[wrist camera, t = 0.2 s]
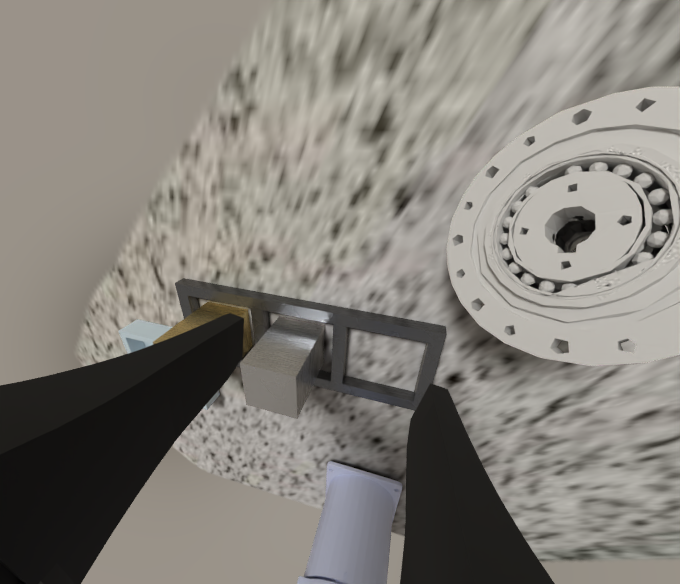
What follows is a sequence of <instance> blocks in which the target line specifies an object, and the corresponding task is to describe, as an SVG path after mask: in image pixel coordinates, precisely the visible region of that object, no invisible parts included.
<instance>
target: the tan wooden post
mask: <svg viewBox="0 0 680 584" xmlns="http://www.w3.org/2000/svg"><path fill="white" fill-rule="evenodd" d="M229 313H231V314H234V315H237V316H239V317H242V318H244V332H243V357H244V355H245V354H246V353H247V352H248V351H249V349H250V348H251V347H252V346H253V345H252V338H251V330H250V322H249V314H248V310H247V309H242V308H237V307H232V306H227V305H222V304H217V303H212V302H207V303H205V304H204V305H203V306H201V307H200V308H199V309H197V310H196V311H194V312H193V313H192V314H190V315H189V316H188V317H186V318H185V319H183V320H182V321H181V322H179V323H178V324H177V325H175V326H174V327H173V328H171V329H170V330H168V331H167V332H166V333H164V334H163V335H162V336H160V337H159V338H157V339H156V340H155V341H153V344H156V343H159V342H161V341H164V340H167V339H169V338H172V337H174V336H177V335H179V334H182V333H184V332H186V331H189V330H191V329H193V328H196V327H198V326H200V325H203V324H205V323H207V322H210V321H212V320H214V319H217V318H219V317H221V316H224V315H226V314H229ZM243 357H242V358H243Z"/></svg>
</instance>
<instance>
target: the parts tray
mask: <svg viewBox="0 0 680 584" xmlns="http://www.w3.org/2000/svg"><path fill="white" fill-rule="evenodd" d="M171 328H173V327H169V326H165V325H160V324H156V323H151V322H147V321H143V320H138V319H137V320H135V321H134V322H132V323H131V324H129V325H127V326H126V327H124V328H122V329H121V330H119V334H120V336H121V339H122V341H123V344H124V346H125V349H126V351H127V353H128V354H129V353H132V352H134V351H137V350H140V349H143V348H146V347H148V346H151V345H153V341H155V340H156V339H157V338H159V337H160V336H162V335H163V334H164V333H166V332H167V331H168V330H170V329H171ZM219 395H220V393H219V390H218V391H217V393H216V394H215V395H214V396H213V397H212V398H211V400H210V401H209V402H208V403H207V404H206V405H205V406H204V408H203V409H206V410H208V408H209V407H210V406H211V405H212V403H213V402H214V401H215V400H216V399H217V397H218V396H219Z"/></svg>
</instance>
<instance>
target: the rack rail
mask: <svg viewBox="0 0 680 584" xmlns="http://www.w3.org/2000/svg"><path fill="white" fill-rule="evenodd" d="M175 286H176V290H177V293H178V297H179V301H180V305H181V309H182V312H183V316H184V319H185V318H186V317H188V316H189V315H190V314H192V313H193V312H194V311H196V310H197V309H199V308H200V307H199V303H198V299H197V298H202V299H207V300H212V301H218V302H223V303H228V304H233V305H238V306H243V307H248V308H251V315H252V323H253V331H254V339H255V345H256V344H257V342H258V341H259V340H260V339H261V338H262V336H263V335H264V334H265V333H266V332H267V331H268V329H269V328H270V323H269V312H273V313H279V314H284V315H289V316H294V317H299V318H304V319H309V320H314V321H319V322H324V323H329V324H334V326H333V348H332V369H331V372H326V371H322V370H320V371H319V374H318V376H317V378H316V380H315V382H314V384H313V385H314V386H318V387H322V388H326V389H330V390H334V391H338V392H342V393H346V394H350V395H354V396H358V397H362V398H366V399H370V400H374V401H378V402H382V403H387V404H391V405H395V406H399V407H403V408H407V409H411V410H415V411H416V409H417V407H418V405H419V403H420V401H421V399H422V398H423V396H424V394H425V392H426V390H427V388H428V387H429V385H430V383H431V384H432V383H433V379H434V376H435V372H436V369H437V365H438V362H439V358H440V355H441V351H442V348H443V344H444V341H445V337H446V327H445V326H441V325H436V324H430V323H425V322H419V321H414V320H408V319H403V318H397V317H392V316H386V315H381V314H375V313H370V312H365V311H359V310H354V309H348V308H343V307H337V306H332V305H326V304H321V303H315V302H310V301H304V300H299V299H293V298H288V297H282V296H277V295H272V294H266V293H261V292H255V291H250V290H244V289H239V288H233V287H228V286H222V285H217V284H211V283H206V282H200V281H195V280H189V279H184V278H183V279H182V280H180V281H178V282H176V283H175ZM349 327H350V328H355V329H360V330H365V331H370V332H375V333H380V334H385V335H390V336H395V337H400V338H405V339H411V340H416V341H421V342H426V346H425V350H424V354H423V358H422V362H421V366H420V370H419V374H418V378H417V382H416V386H415V390H414V392H412V391H408V390H403V389H399V388H395V387H390V386H386V385H382V384H378V383H373V382H369V381H365V380H361V379H356V378H352V377H348V376H345V370H346V357H347V344H348V331H349ZM247 354H248V353H246V354H245V355H244V357H243V358H242V359H241V360H240V362H241V361H242V360H243V359H244V358H245V357H246V355H247ZM240 362H239V363H238V365H237V367H240Z"/></svg>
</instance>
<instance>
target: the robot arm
mask: <svg viewBox="0 0 680 584" xmlns="http://www.w3.org/2000/svg"><path fill="white" fill-rule="evenodd" d="M243 332H244V318H242V317H239V316H237V315H234V314H231V313H229V314H226V315H224V316H221V317H219V318H217V319H214V320H212V321H210V322H207V323H205V324H203V325H200V326H198V327H196V328H193V329H191V330H189V331H186V332H184V333H182V334H179V335H177V336H174V337H172V338H169V339H167V340H164V341H161V342H159V343H156V344H153V345H151V346H148V347H146V348H143V349H140V350H137V351H134V352H132V353H129V354H126V355H123V356H119V357H116V358H113V359H110V360H106V361H103V362H100V363H96V364H93V365H89V366H85V367H81V368H77V369H73V370H69V371H65V372H61V373H57V374H53V375H49V376H45V377H41V378H36V379H31V380H26V381H22V382H17V383H12V384H6V385H1V386H0V584H81V582H82V581H83V579H84V578H85V576H86V574H87V573H88V571H89V569H90V568H91V566H92V565H93V563H94V561H95V560H96V558H97V556H98V555H99V553H100V552H101V550H102V549H103V547H104V545H105V544H106V542H107V540H108V539H109V537H110V536H111V534H112V532H113V531H114V529H115V528H116V526H117V525H118V523H119V522H120V520H121V519H122V517H123V515H124V514H125V513H126V511H127V509H128V508H129V507H130V505H131V504H132V502H133V501H134V499H135V497H136V496H137V495H138V493H139V492H140V490H141V489H142V487H143V486H144V484H145V483H146V482H147V480H148V479H149V477H150V476H151V474H152V473H153V471H154V470H155V468H156V467H157V466H158V464H159V463H160V462H161V460H162V459H163V457H164V456H165V455H166V453H167V452H168V450H169V449H170V448H171V446H172V445H173V444H174V442H175V441H176V440H177V438H178V437H179V436H180V435H181V433H182V432H183V431H184V430H185V428H186V427H187V426H188V425H189V424H190V423H191V421H192V420H193V419H194V418H195V417H196V416H197V415H198V413H199V412H200V411H201V410H202V409H203V408H204V406H205V405H206V404H207V403H208V402H209V401H210V400H211V398H212V397H213V396H214V395H215V394H216V393H217V391H218V390H219V389H220V388H221V387H222V386H223V384H224V383H225V382H226V381H227V380H228V378H229V377H230V375H231V374H232V372H233V371H234V369H235V368H236V366H237V365H238V363H239V362H240V360H241V359H242V357H243ZM401 491H402V483H401V482H399V481H396V480H392V479H389V478H386V477H382V476H379V475H376V474H372V473H369V472H366V471H362V470H359V469H356V468H352V467H349V466H346V465H342V464H339V463H336V462H332V461H329V462H328V464H327V477H326V499H325V503H324V506H323V510H322V513H321V517H320V520H319V524H318V528H317V531H316V535H315V538H314V542H313V545H312V549H311V553H310V556H309V560H308V563H307V568H306V571H305V574H304V577H301V576H299V578H298V581H297V584H387V573H388V562H389V551H390V540H391V528H392V523H393V519H394V516H395V512H396V509H397V505H398V502H399V498H400V495H401ZM400 584H554V582H553V581H552V579H551V578H550V576H549V575H548V573H547V572H546V570H545V569H544V567H543V566H542V565H541V563H540V562H539V560H538V559H537V557H536V556H535V554H534V553H533V551H532V550H531V548H530V546H529V545H528V543H527V542H526V540H525V539H524V537H523V535H522V534H521V532H520V531H519V529H518V527H517V526H516V524H515V522H514V521H513V519H512V517H511V516H510V514H509V513H508V511H507V509H506V508H505V506H504V504H503V502H502V501H501V499H500V497H499V495H498V493H497V492H496V490H495V488H494V486H493V484H492V482H491V481H490V479H489V477H488V475H487V473H486V471H485V469H484V467H483V465H482V463H481V461H480V459H479V457H478V455H477V453H476V451H475V449H474V447H473V445H472V443H471V441H470V439H469V436H468V434H467V432H466V430H465V428H464V425H463V423H462V421H461V419H460V416H459V414H458V412H457V410H456V407H455V405H454V403H453V400H452V398H451V396H450V393H449V391H448V389H445V388H442V387H439V386H436V385H433V384H431V383H430V385H429V387H428V388H427V390H426V392H425V394H424V396H423V398H422V399H421V401H420V403H419V405H418V407H417V409H416V411H415V412H414V414H413V416H412V418H411V421H410V428H409V435H408V443H407V465H406V524H405V541H404V551H403V561H402V571H401V580H400Z"/></svg>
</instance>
